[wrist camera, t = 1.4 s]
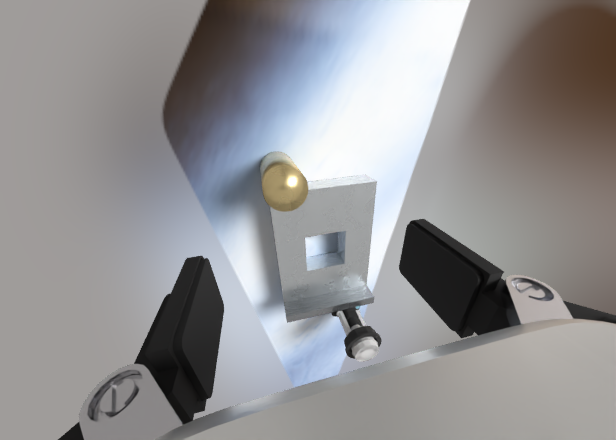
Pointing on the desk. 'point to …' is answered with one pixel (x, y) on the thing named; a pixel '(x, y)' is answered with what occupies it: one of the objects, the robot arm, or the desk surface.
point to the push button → (358, 335)
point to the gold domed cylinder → (282, 182)
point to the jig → (333, 266)
